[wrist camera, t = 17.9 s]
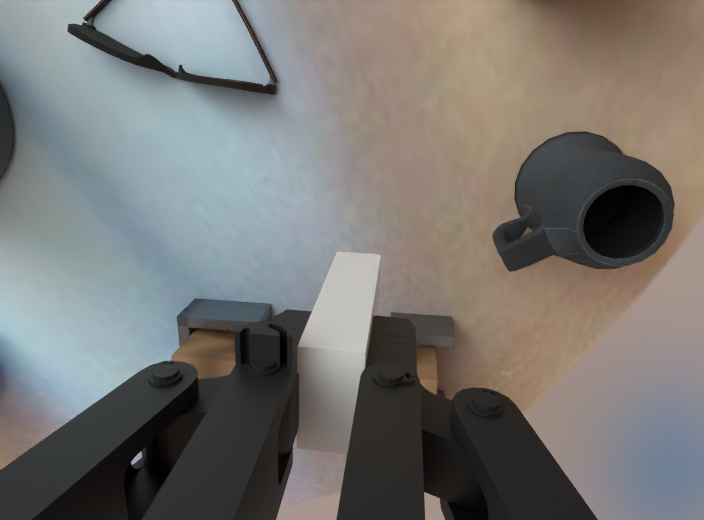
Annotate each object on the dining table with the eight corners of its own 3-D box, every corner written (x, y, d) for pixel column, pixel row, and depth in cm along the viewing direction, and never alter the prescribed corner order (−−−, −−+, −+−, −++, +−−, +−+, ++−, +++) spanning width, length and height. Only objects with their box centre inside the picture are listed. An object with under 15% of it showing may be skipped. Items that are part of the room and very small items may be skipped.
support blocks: (386, 395, 50) (384, 420, 46) (391, 312, 47) (389, 332, 43) (443, 400, 49) (445, 426, 45) (451, 316, 46) (454, 337, 42)
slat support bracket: (202, 379, 52) (185, 401, 48) (195, 298, 49) (176, 316, 45) (273, 385, 51) (262, 409, 47) (270, 304, 48) (258, 322, 44)
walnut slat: (211, 355, 51) (176, 401, 44) (208, 315, 50) (171, 356, 42) (430, 375, 49) (433, 428, 41) (434, 333, 47) (437, 380, 40)
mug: (604, 109, 39) (673, 117, 29) (648, 209, 41) (728, 252, 31) (463, 184, 42) (478, 217, 32) (510, 274, 44) (540, 333, 34)
